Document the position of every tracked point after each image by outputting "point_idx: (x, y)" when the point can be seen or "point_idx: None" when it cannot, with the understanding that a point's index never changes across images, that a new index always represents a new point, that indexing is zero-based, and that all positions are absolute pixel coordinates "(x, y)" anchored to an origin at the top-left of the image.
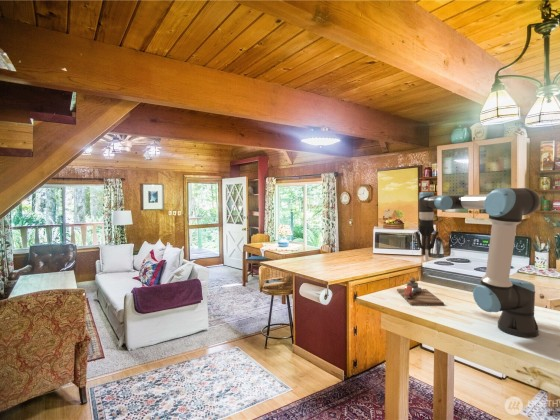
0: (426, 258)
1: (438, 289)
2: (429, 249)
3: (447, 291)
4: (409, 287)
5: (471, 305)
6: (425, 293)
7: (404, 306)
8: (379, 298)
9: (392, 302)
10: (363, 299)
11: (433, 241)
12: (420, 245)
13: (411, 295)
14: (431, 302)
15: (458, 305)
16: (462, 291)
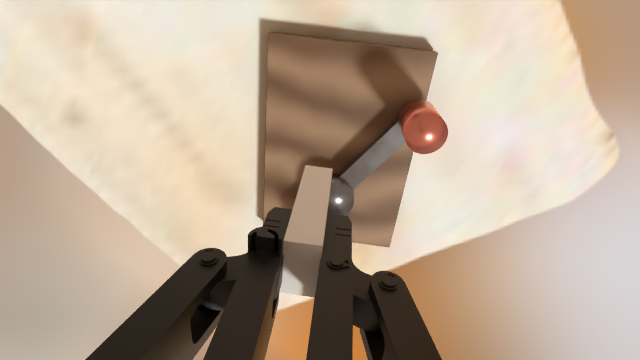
0: (320, 181)
1: (203, 239)
2: (267, 237)
3: (176, 213)
4: (432, 115)
5: (138, 23)
6: (293, 174)
7: (474, 38)
8: (524, 165)
9: (498, 104)
10: (613, 160)
11: (139, 345)
12: (404, 314)
13: (410, 103)
14: (329, 42)
15: (199, 29)
16: (115, 206)
